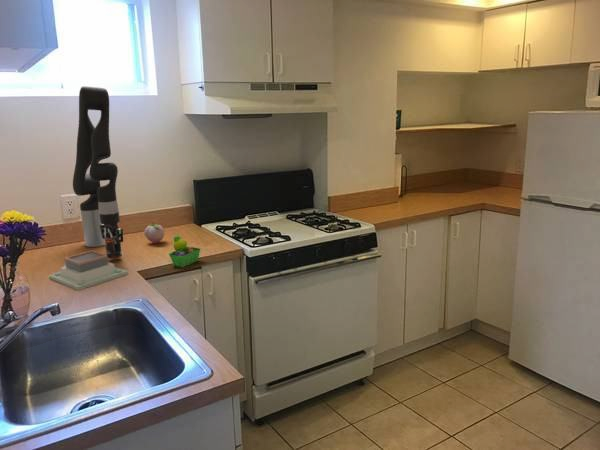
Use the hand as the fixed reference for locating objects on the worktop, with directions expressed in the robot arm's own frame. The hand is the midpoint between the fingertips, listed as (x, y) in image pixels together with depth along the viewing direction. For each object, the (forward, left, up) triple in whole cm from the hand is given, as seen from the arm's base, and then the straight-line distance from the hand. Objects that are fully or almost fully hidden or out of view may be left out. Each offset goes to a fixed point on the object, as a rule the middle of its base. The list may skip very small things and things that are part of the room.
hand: (113, 250), depth 205 cm
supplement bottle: (0, 0, -3) cm, 3 cm away
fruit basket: (+28, +14, -5) cm, 32 cm away
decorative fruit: (-7, +25, -5) cm, 26 cm away
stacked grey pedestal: (+9, -17, -4) cm, 20 cm away
